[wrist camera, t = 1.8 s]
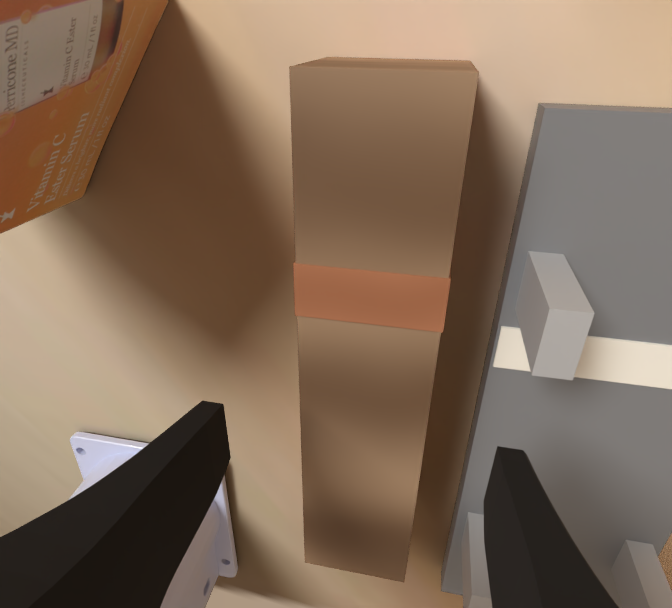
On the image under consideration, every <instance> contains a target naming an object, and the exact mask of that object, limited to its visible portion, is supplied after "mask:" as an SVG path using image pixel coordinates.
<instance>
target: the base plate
mask: <svg viewBox="0 0 672 608" xmlns="http://www.w3.org/2000/svg"><path fill="white" fill-rule="evenodd" d="M497 446H500V447H506V448H513V449H519V450H523V451H524V452H525V453H526V454H527V456H528V458H529V460H530V462H531V465H532V467H533V469H534V471H535V473H536V475H537V477H538V479H539V481H540V483H541V485H542V487H543V488H544V490H545V492H546V494H547V496H548V498H549V500H550V501H551V503H552V505H553V507H554V509H555V510H556V512H557V514H558V516H559V517H560V519H561V521H562V522H563V524H564V526H565V527H566V529H567V531H568V532H569V534H570V536H571V538H572V539H573V541H574V542H575V544H576V546H577V547H578V549H579V550H580V552H581V553H582V555H583V557H584V558H585V560H586V561H587V563H588V564H589V566H590V567H591V569H592V570H593V572H594V573H595V575H596V576H597V578H598V579H599V580H600V582H601V583H602V585H603V586H604V588H605V589H606V590H607V592H608V593H609V595H610V596H611V597H612V599H613V600H614V602H615V603H616V604H617V606H618V607H619V608H672V591H671V588H670V586H669V583H668V581H667V579H666V576H665V574H664V571H663V569H662V566H661V564H660V561H659V559H658V555H659V554H660V552H661V550H662V548H663V547H664V545H665V543H666V541H667V540H668V538H669V536H670V534H671V533H672V108H652V107H627V106H601V105H576V104H551V103H539V104H538V109H537V113H536V118H535V123H534V128H533V133H532V137H531V142H530V147H529V152H528V157H527V162H526V166H525V171H524V176H523V181H522V186H521V190H520V195H519V200H518V205H517V210H516V215H515V219H514V224H513V229H512V234H511V239H510V243H509V248H508V253H507V258H506V263H505V267H504V272H503V277H502V282H501V287H500V292H499V296H498V301H497V306H496V311H495V316H494V320H493V325H492V330H491V335H490V340H489V344H488V349H487V354H486V359H485V364H484V369H483V373H482V378H481V383H480V388H479V393H478V397H477V402H476V407H475V412H474V417H473V421H472V426H471V431H470V436H469V441H468V446H467V450H466V455H465V460H464V465H463V470H462V474H461V479H460V484H459V489H458V494H457V499H456V503H455V508H454V513H453V518H452V523H451V527H450V532H449V537H448V542H447V547H446V551H445V556H444V561H443V566H442V571H441V591H443V592H448V593H453V594H458V595H463V608H492V601H491V593H490V585H489V578H488V570H487V562H486V554H485V545H484V502H483V501H484V497H485V493H486V489H487V485H488V481H489V477H490V473H491V469H492V465H493V461H494V457H495V453H496V450H497Z"/></svg>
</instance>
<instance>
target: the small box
mask: <svg viewBox="0 0 672 608" xmlns="http://www.w3.org/2000/svg"><path fill="white" fill-rule="evenodd" d="M168 1H169V0H0V233H3V232H5V231H8V230H10V229H12V228H14V227H17V226H19V225H21V224H23V223H25V222H28V221H30V220H33V219H35V218H37V217H39V216H42V215H44V214H46V213H49V212H51V211H53V210H55V209H58V208H60V207H62V206H64V205H67V204H69V203H71V202H74V201H76V200H78V199H80V198H82V197H83V195H84V194H85V191H86V188H87V185H88V183H89V181H90V178H91V175H92V172H93V170H94V167H95V165H96V162H97V159H98V157H99V155H100V152H101V150H102V148H103V145H104V143H105V141H106V138H107V136H108V134H109V132H110V129H111V127H112V125H113V122H114V120H115V118H116V116H117V114H118V112H119V109H120V107H121V105H122V103H123V100H124V98H125V96H126V94H127V92H128V89H129V87H130V85H131V83H132V80H133V78H134V76H135V74H136V72H137V69H138V67H139V65H140V63H141V60H142V58H143V56H144V54H145V51H146V49H147V47H148V45H149V42H150V40H151V38H152V36H153V33H154V31H155V29H156V27H157V24H158V23H159V21H160V19H161V17H162V14H163V12H164V10H165V8H166V6H167V3H168Z"/></svg>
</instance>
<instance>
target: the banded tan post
mask: <svg viewBox="0 0 672 608" xmlns="http://www.w3.org/2000/svg"><path fill="white" fill-rule="evenodd" d="M289 69H290V101H291V133H292V165H293V197H294V229H295V262H294V264H293V271H294V301H295V316H297V325H298V357H299V389H300V421H301V453H302V485H303V517H304V549H305V562H306V563H311V564H316V565H321V566H325V567H330V568H335V569H340V570H345V571H350V572H355V573H360V574H365V575H370V576H375V577H380V578H385V579H390V580H395V581H400V582H404V581H405V574H406V567H407V561H408V554H409V547H410V540H411V533H412V526H413V520H414V513H415V506H416V499H417V492H418V486H419V479H420V472H421V465H422V458H423V451H424V445H425V438H426V431H427V424H428V417H429V410H430V404H431V397H432V390H433V383H434V376H435V370H436V363H437V356H438V349H439V342H440V335H441V332H442V333H443V329H444V322H445V316H446V309H447V302H448V295H449V289H450V282H451V260H452V253H453V247H454V240H455V233H456V226H457V219H458V213H459V206H460V199H461V192H462V185H463V178H464V172H465V165H466V158H467V151H468V144H469V137H470V131H471V124H472V117H473V110H474V103H475V96H476V90H477V83H478V76H479V72H478V70H477V69H476V68H475V66H474V65H473V64H472V62H471V61H457V60H419V59H381V58H343V57H326V58H322V59H318V60H314V61H310V62H306V63H302V64H298V65H294V66H290V67H289Z"/></svg>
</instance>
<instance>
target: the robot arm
mask: <svg viewBox="0 0 672 608" xmlns="http://www.w3.org/2000/svg"><path fill="white" fill-rule="evenodd" d="M70 443H71V446H72V448H73V451H74V454H75V457H76V460H77V462H78V465H79V468H80V471H81V474H82V476H83V479H84V481H83V482H82V483H81V484H80V486H79V487H78V488H77V489H76V491H75V492H74V493H73V494H72V496H71V497H70V498H69V499H68V501H66V502H65V503H63V504H61V505H60V506H58V507H56V508H54V509H53V510H51V511H49V512H47V513H45V514H43V515H42V516H40V517H38V518H36V519H34V520H32V521H31V522H29V523H27V524H25V525H23V526H21V527H20V528H18V529H16V530H14V531H12V532H10V533H8V534H6V535H4V536H2V537H0V608H205V606H206V604H207V602H208V599H209V597H210V595H211V592H212V590H213V587H214V585H215V583H216V580H217V578H218V575H220V576H224V577H230V578H231V577H235V576H236V574H237V571H238V564H237V557H236V551H235V544H234V537H233V530H232V523H231V516H230V509H229V502H228V496H227V489H226V482H225V475H224V474H225V471H226V469H227V466H228V463H229V460H230V458H231V457H230V450H229V442H228V435H227V427H226V420H225V413H224V405H223V404H220V403H214V402H207V401H202V402H200V403H199V404H198V405H196V406H195V407H194V408H193V409H191V410H190V411H189V412H188V413H187V414H185V415H184V416H183V417H182V418H180V419H179V420H178V421H177V422H176V423H174V424H173V425H172V426H171V427H169V428H168V429H167V430H166V431H165V432H163V433H162V434H161V435H160V436H158V437H157V438H156V439H154V440H153V441H152V442H151V443H144V442H138V441H132V440H126V439H120V438H114V437H108V436H103V435H97V434H91V433H85V432H76V433H75V434H74V435H73V436H72V437H71V438H70ZM483 502H484V545H485V554H486V562H487V570H488V578H489V585H490V593H491V601H492V608H619V607H618V606H617V604H616V603H615V602H614V600H613V599H612V597H611V596H610V595H609V593H608V592H607V590H606V589H605V588H604V586H603V585H602V583H601V582H600V580H599V579H598V578H597V576H596V575H595V573H594V572H593V570H592V569H591V567H590V566H589V564H588V563H587V561H586V560H585V558H584V557H583V555H582V553H581V552H580V550H579V549H578V547H577V546H576V544H575V542H574V541H573V539H572V538H571V536H570V534H569V532H568V531H567V529H566V527H565V526H564V524H563V522H562V521H561V519H560V517H559V516H558V514H557V512H556V510H555V509H554V507H553V505H552V503H551V501H550V500H549V498H548V496H547V494H546V492H545V490H544V488H543V487H542V485H541V483H540V481H539V479H538V477H537V475H536V473H535V471H534V469H533V467H532V465H531V462H530V460H529V458H528V456H527V454H526V453H525V452H524V451H523V450H519V449H513V448H506V447H500V446H497V450H496V453H495V457H494V461H493V465H492V469H491V473H490V477H489V481H488V485H487V489H486V493H485V497H484V501H483Z"/></svg>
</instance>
